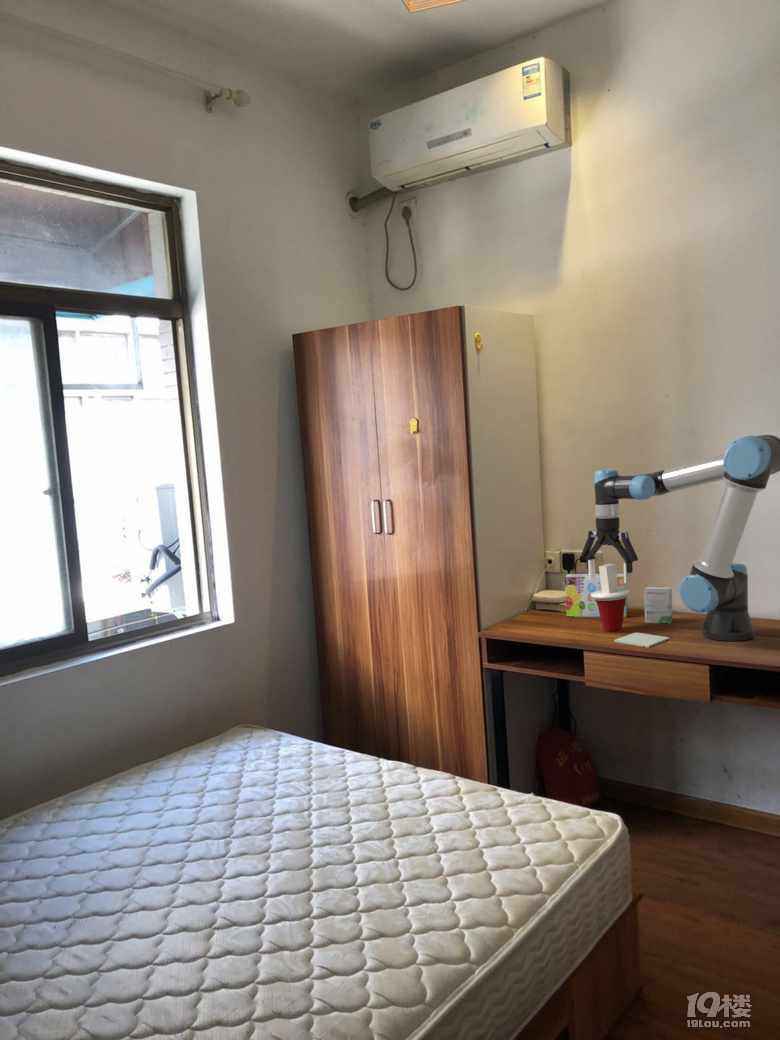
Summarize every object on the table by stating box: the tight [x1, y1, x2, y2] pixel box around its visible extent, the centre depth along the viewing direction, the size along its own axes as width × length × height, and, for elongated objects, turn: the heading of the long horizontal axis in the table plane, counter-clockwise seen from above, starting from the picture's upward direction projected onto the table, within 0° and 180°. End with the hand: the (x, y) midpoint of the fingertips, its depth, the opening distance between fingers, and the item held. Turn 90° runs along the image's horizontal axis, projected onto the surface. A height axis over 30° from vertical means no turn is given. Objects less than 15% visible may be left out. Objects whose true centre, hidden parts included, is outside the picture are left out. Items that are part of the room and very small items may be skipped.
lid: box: [591, 563, 631, 599], centre depth 269 cm, size 13×13×10 cm
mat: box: [613, 632, 670, 648], centre depth 255 cm, size 12×12×1 cm
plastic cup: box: [594, 595, 628, 633], centre depth 270 cm, size 11×11×12 cm
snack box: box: [564, 573, 629, 618], centre depth 293 cm, size 21×6×15 cm, turn 69°
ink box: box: [643, 586, 673, 625], centre depth 278 cm, size 9×5×12 cm, turn 63°
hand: (609, 580), depth 269 cm, fingers open, 13 cm apart
